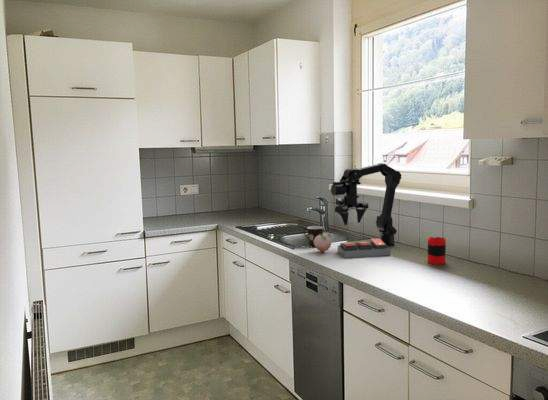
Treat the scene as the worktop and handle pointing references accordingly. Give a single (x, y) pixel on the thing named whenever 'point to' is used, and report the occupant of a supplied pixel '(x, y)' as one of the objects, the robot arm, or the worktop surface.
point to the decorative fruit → (322, 242)
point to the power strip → (363, 250)
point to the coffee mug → (313, 233)
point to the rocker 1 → (348, 244)
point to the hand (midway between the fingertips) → (352, 223)
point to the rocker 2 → (377, 241)
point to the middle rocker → (363, 243)
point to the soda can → (436, 249)
